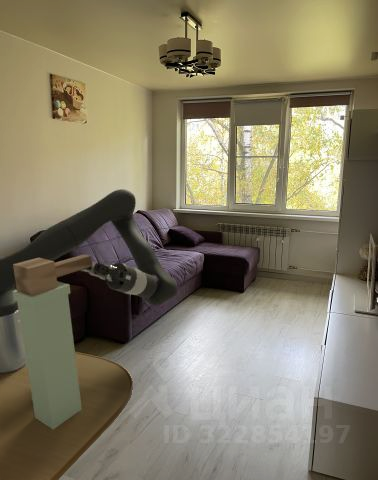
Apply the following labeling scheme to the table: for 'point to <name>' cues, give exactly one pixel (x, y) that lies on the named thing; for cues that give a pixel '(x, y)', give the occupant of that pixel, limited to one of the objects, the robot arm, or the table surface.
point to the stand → (50, 354)
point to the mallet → (45, 273)
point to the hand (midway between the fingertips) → (83, 264)
